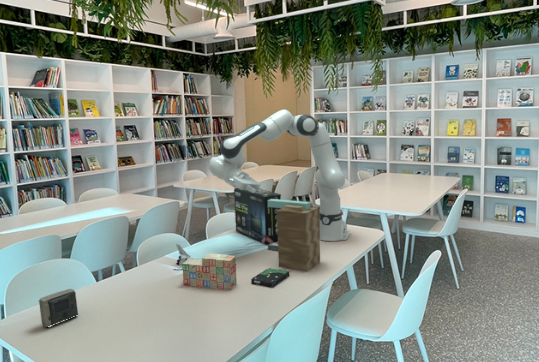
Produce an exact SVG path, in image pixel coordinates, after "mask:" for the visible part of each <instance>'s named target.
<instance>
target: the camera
mask: <svg viewBox="0 0 539 362" xmlns="http://www.w3.org/2000/svg"><path fill="white" fill-rule="evenodd" d="M38 304H39V311H40V319H41V325H42V326H43V325H44V326H43V327H45V326H46V327H48V326H50V325H53V324H56V323H58V322H61V321H63V320H66V319H69V318H71V317H73V316H76V315H78V316H79V312H78V303H77V295H76V291H75V289H72V288H67V289H63V290H60V291H57V292H55V293H52V294H48V295H46V296H43V297H40V298H39V300H38ZM46 327H45V328H46Z"/></svg>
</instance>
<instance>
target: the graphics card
mask: <svg viewBox="0 0 539 362" xmlns="http://www.w3.org/2000/svg"><path fill="white" fill-rule="evenodd" d="M267 251H275V252H278V242H276V243H272V244H267Z"/></svg>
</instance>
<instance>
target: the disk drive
mask: <svg viewBox="0 0 539 362" xmlns="http://www.w3.org/2000/svg"><path fill="white" fill-rule="evenodd" d="M289 277H290V271H289V270H285V269H276V268H271V267H269V268H267V269H264V270H263V271H262V272H260V273H258V274H257V275H255V276H253V277H252V278H250V281H251V282H250V283H251V285H255V286H260V287H261V286H262V287H266V288H271V289H274V288H275V287H277V285H279V284H280V283H282V282H283V281H284V280H286V279H288V278H289Z"/></svg>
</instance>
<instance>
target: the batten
mask: <svg viewBox="0 0 539 362" xmlns="http://www.w3.org/2000/svg"><path fill="white" fill-rule="evenodd" d="M310 202H311V201H302V200H288V199H281V200H279V199H270V200H268V207H275V208H283V206H286V205H292V206H303V210H309V209H310Z"/></svg>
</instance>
